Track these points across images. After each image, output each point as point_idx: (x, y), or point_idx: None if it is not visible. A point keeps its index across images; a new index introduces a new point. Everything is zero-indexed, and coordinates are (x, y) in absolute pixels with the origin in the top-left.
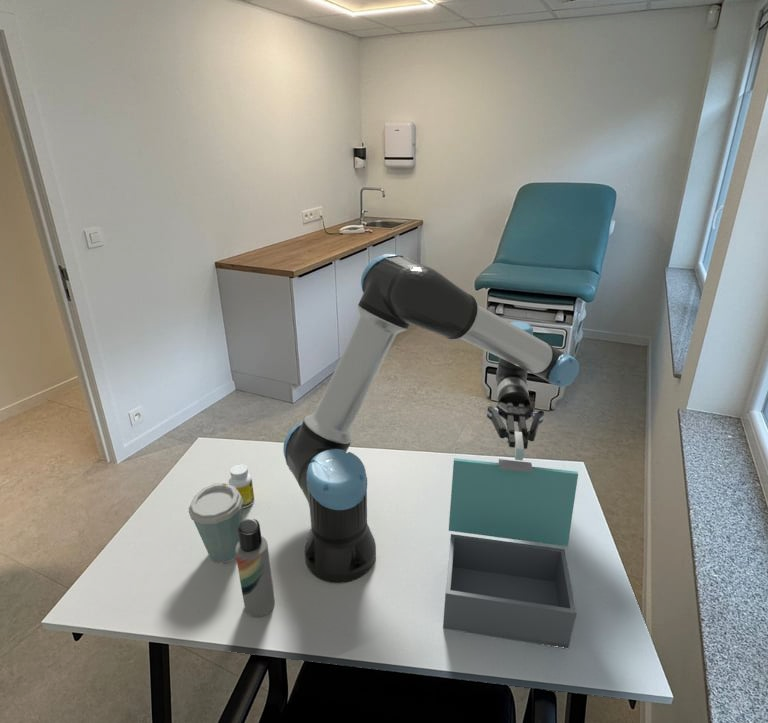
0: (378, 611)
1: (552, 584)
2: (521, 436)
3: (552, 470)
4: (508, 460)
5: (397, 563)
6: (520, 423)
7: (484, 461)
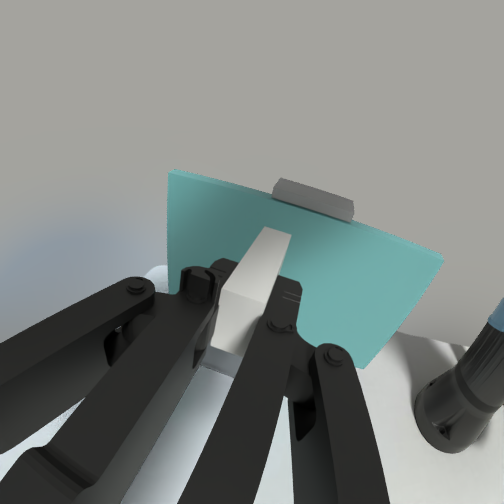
0: (391, 360)
1: None
2: (243, 266)
3: (223, 182)
4: (330, 204)
5: (390, 412)
6: (167, 374)
7: (382, 237)
